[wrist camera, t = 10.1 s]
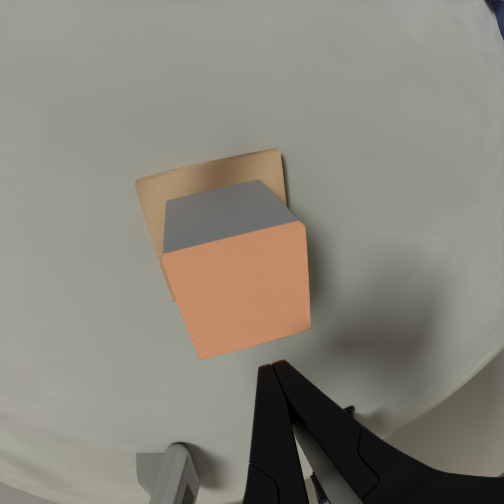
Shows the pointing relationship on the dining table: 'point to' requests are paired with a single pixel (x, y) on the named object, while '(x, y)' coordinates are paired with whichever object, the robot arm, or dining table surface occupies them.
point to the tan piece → (204, 187)
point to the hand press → (499, 14)
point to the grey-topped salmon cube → (236, 267)
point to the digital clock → (168, 476)
